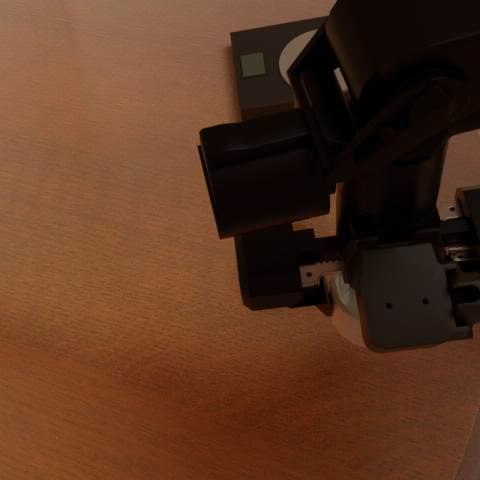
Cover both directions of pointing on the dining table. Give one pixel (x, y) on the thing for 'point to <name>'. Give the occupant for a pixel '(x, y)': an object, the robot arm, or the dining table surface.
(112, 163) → the dining table surface
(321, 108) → the robot arm
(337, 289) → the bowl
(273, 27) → the scale
